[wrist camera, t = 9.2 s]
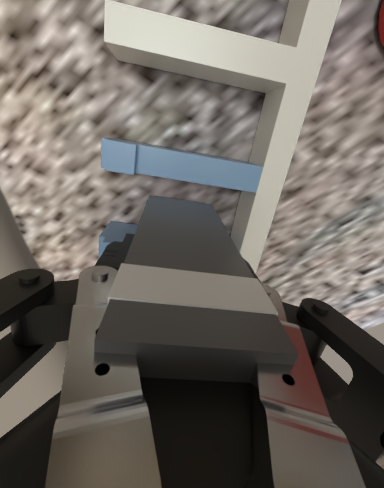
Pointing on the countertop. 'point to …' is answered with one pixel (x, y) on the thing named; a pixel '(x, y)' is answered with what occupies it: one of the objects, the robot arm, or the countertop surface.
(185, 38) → the duct comb
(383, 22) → the beer can
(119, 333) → the grey trapezoid block
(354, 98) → the countertop surface
